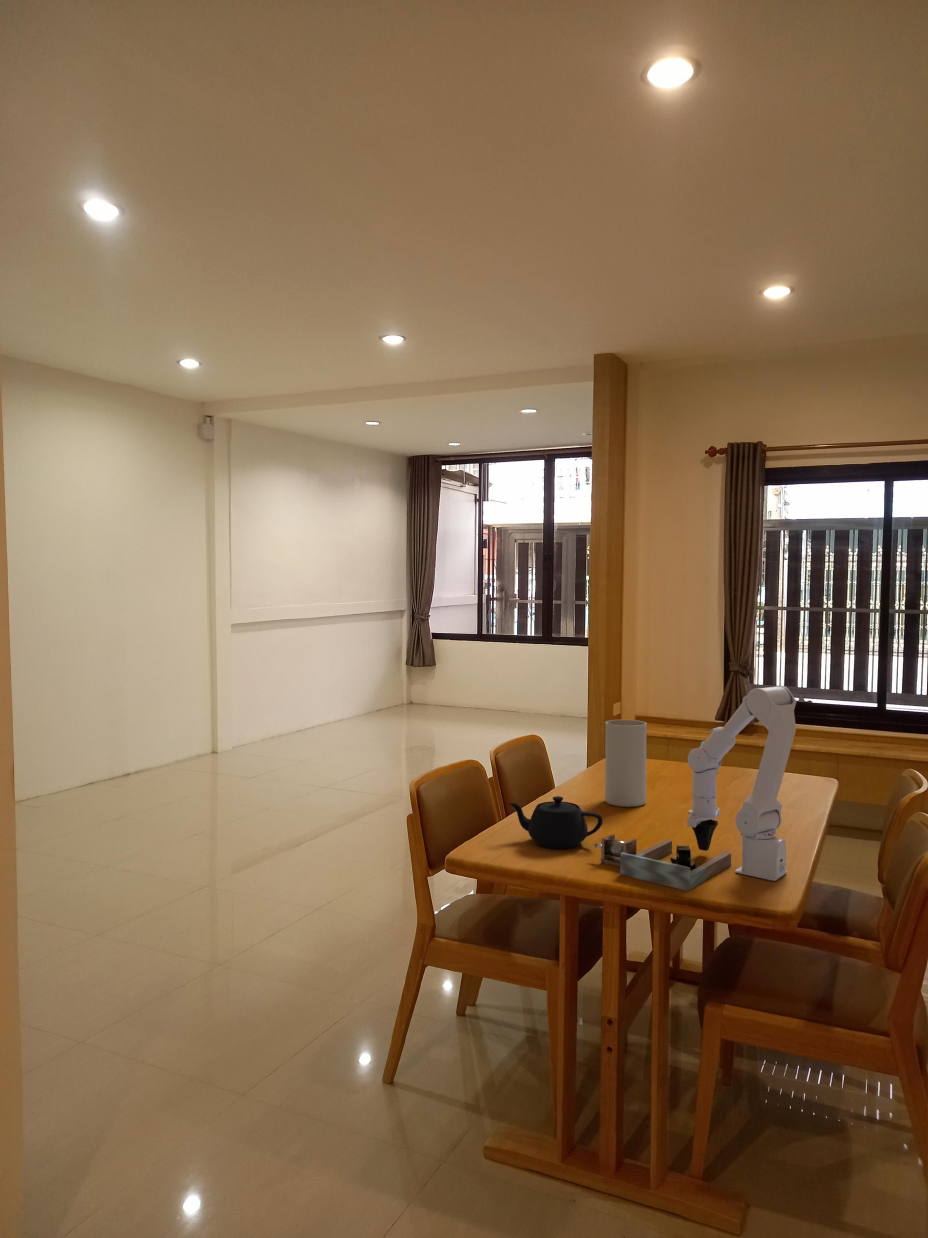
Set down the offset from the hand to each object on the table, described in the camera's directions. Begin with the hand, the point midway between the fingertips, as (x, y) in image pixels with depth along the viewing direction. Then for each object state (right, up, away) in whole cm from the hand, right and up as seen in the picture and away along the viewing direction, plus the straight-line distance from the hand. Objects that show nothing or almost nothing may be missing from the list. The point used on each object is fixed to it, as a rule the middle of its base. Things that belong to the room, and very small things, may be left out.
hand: (703, 849), depth 217 cm
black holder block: (-7, -2, -7) cm, 10 cm away
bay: (-9, -2, -11) cm, 14 cm away
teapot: (-36, -1, +11) cm, 38 cm away
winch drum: (-23, -2, -5) cm, 24 cm away
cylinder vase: (-10, 0, +53) cm, 53 cm away
